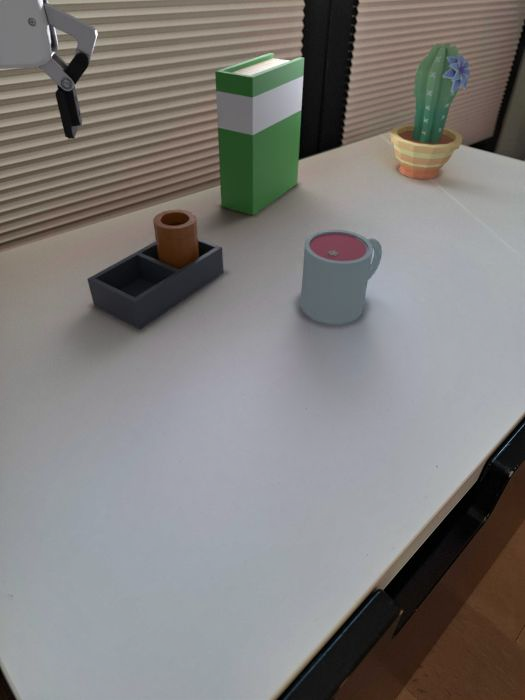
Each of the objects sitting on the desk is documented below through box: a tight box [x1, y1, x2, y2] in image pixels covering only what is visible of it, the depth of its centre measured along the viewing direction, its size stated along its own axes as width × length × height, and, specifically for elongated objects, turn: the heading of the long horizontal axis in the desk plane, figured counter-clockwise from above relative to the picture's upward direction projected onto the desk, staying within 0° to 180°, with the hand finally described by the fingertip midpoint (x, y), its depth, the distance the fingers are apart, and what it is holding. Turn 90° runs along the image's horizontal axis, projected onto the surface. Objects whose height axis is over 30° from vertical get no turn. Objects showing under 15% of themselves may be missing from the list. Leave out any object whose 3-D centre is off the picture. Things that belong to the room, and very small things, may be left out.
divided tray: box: [86, 237, 224, 331], centre depth 77 cm, size 10×18×5 cm, turn 144°
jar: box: [152, 209, 199, 270], centre depth 77 cm, size 6×6×9 cm
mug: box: [300, 229, 383, 325], centre depth 73 cm, size 14×9×10 cm
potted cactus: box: [390, 43, 471, 180], centre depth 107 cm, size 15×15×25 cm
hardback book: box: [214, 52, 305, 216], centre depth 97 cm, size 18×7×24 cm, turn 148°
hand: (18, 136), depth 47 cm, fingers open, 9 cm apart
